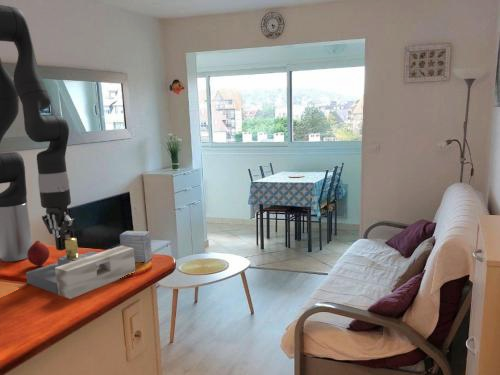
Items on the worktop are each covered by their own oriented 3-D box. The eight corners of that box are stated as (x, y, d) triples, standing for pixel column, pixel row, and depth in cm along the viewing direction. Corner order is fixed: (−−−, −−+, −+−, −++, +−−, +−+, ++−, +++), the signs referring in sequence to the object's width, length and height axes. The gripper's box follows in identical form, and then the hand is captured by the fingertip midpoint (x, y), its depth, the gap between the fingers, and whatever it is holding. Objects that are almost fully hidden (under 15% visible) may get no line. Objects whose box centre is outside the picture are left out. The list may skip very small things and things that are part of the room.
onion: (41, 270, 121) (38, 243, 120) (24, 269, 122) (20, 243, 121) (54, 263, 127) (51, 237, 126) (38, 262, 128) (34, 237, 127)
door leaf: (27, 283, 112) (24, 264, 111) (92, 260, 128) (91, 244, 127) (57, 294, 104) (54, 274, 103) (122, 268, 120) (121, 251, 119)
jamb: (58, 294, 104) (54, 267, 102) (123, 269, 120) (121, 245, 119) (69, 299, 101) (66, 271, 100) (135, 272, 117) (133, 248, 116)
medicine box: (152, 258, 128) (150, 231, 127) (146, 263, 124) (143, 235, 122) (128, 257, 130) (126, 230, 128) (121, 262, 125) (119, 234, 124)
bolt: (62, 263, 116) (59, 239, 115) (71, 260, 119) (69, 236, 118) (86, 270, 110) (83, 244, 109) (95, 267, 113) (93, 241, 111)
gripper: (28, 189, 116) (36, 249, 119) (55, 192, 109) (62, 257, 111) (54, 185, 122) (60, 242, 125) (81, 188, 115) (87, 249, 117)
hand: (61, 249), depth 118 cm, fingers closed
